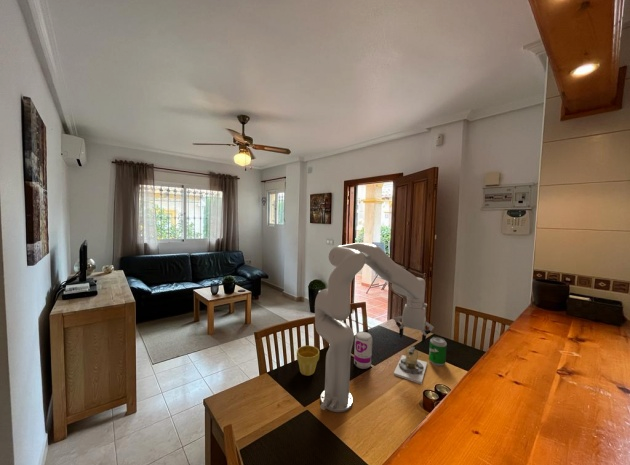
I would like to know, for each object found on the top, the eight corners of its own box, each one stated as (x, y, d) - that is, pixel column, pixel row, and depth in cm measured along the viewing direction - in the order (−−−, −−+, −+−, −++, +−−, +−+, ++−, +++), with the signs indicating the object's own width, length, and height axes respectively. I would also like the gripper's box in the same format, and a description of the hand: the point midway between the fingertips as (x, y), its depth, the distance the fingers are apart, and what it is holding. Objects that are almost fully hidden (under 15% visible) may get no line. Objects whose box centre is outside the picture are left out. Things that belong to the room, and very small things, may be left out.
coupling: (417, 366, 126) (418, 348, 125) (415, 372, 121) (416, 353, 120) (406, 362, 129) (407, 345, 128) (403, 368, 124) (405, 350, 123)
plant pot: (314, 380, 115) (315, 359, 114) (292, 375, 118) (293, 354, 117) (321, 367, 124) (322, 347, 124) (301, 362, 128) (301, 343, 127)
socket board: (421, 384, 114) (421, 379, 114) (393, 374, 120) (393, 370, 120) (427, 364, 130) (427, 359, 130) (402, 356, 136) (402, 352, 136)
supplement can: (366, 371, 122) (367, 340, 121) (350, 365, 127) (352, 335, 126) (373, 364, 129) (375, 334, 127) (358, 357, 134) (360, 329, 132)
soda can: (441, 359, 135) (443, 336, 134) (447, 367, 127) (449, 344, 126) (426, 358, 135) (428, 335, 134) (431, 366, 128) (433, 342, 127)
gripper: (436, 305, 121) (432, 341, 122) (397, 298, 130) (395, 331, 131) (434, 310, 115) (430, 348, 116) (394, 302, 124) (391, 337, 125)
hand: (412, 339), depth 124 cm, fingers open, 9 cm apart
